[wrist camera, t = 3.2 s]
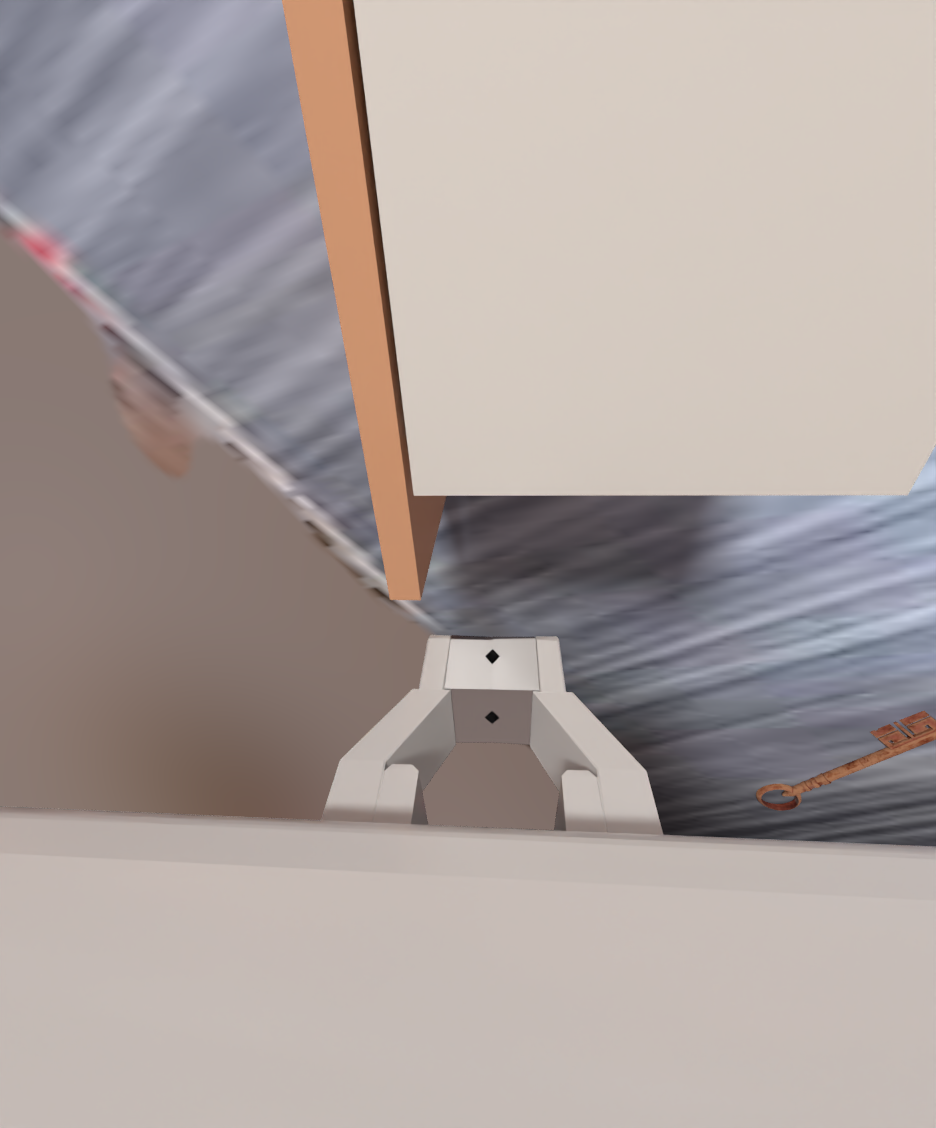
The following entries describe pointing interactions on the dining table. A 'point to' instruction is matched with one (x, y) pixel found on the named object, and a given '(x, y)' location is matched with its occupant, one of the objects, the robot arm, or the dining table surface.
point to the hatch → (360, 278)
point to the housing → (658, 242)
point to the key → (893, 749)
